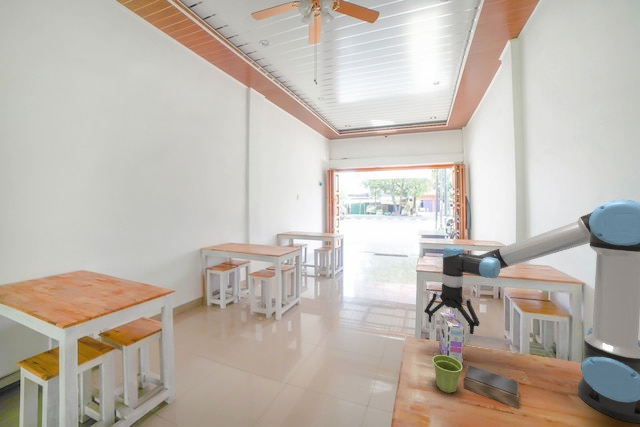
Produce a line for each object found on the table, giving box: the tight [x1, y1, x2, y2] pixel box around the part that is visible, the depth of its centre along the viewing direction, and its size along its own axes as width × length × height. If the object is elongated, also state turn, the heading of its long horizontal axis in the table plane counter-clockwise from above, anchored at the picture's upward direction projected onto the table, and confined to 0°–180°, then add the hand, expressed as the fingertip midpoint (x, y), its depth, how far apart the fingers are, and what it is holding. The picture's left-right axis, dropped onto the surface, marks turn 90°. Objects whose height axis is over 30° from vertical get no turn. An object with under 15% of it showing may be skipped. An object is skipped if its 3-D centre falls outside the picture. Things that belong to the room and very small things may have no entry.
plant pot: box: [431, 354, 464, 394], centre depth 91 cm, size 9×9×9 cm
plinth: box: [463, 365, 520, 409], centre depth 90 cm, size 15×9×4 cm, turn 53°
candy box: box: [438, 312, 465, 370], centre depth 109 cm, size 14×6×16 cm, turn 168°
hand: (449, 335), depth 109 cm, fingers open, 13 cm apart
